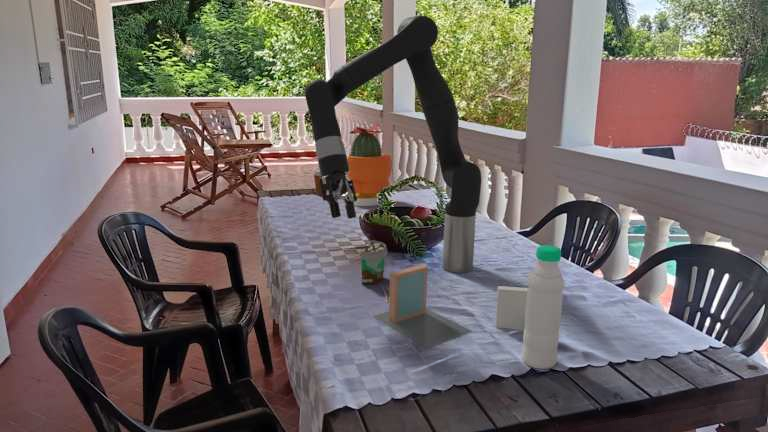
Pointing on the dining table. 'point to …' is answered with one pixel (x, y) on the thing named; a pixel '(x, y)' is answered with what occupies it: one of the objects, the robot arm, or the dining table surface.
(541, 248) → the water bottle
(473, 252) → the robot arm
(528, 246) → the dining table surface
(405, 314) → the terracotta tile
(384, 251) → the food container
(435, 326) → the slate board
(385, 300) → the tweezers
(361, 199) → the potted cactus
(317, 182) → the disposable coffee cup
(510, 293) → the grey tile
